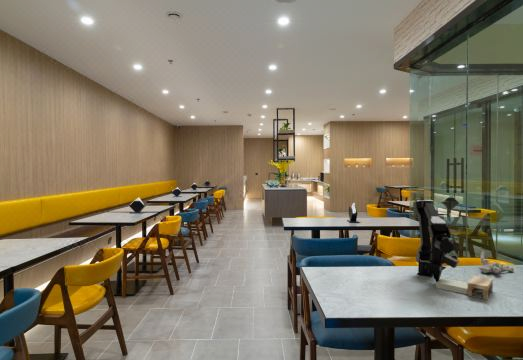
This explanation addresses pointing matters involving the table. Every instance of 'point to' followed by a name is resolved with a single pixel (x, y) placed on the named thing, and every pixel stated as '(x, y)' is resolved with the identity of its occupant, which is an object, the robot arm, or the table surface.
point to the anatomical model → (492, 265)
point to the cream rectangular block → (453, 285)
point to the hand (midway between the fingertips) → (437, 281)
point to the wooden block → (480, 286)
